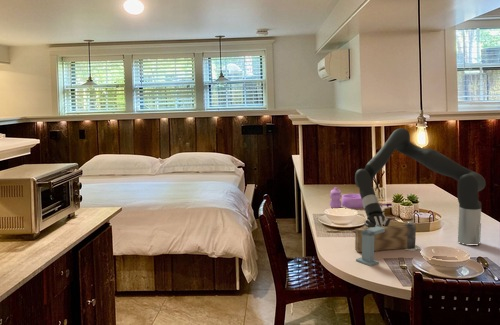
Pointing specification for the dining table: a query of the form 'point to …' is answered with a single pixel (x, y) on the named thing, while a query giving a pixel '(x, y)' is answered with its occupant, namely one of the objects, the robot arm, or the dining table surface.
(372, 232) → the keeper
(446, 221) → the dining table surface
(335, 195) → the container set
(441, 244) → the dining table surface
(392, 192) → the dining table surface
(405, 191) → the dining table surface
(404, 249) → the post
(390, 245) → the link
